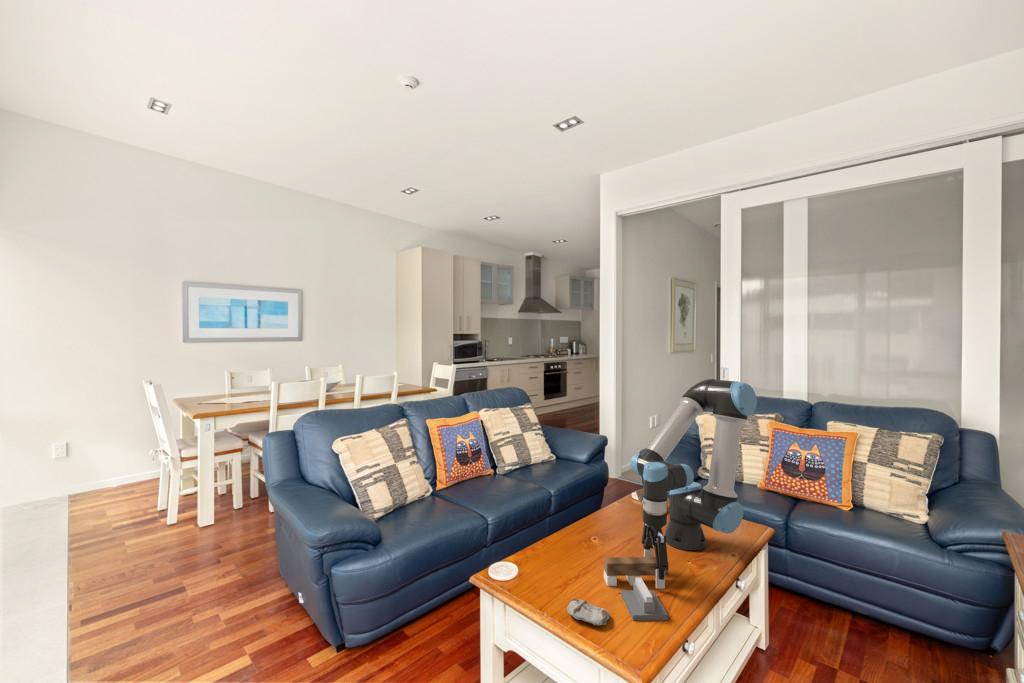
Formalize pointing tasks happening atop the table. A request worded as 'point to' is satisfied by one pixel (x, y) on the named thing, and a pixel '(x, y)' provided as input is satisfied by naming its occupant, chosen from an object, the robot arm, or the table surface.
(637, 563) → the bar
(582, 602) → the stone
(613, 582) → the blocks
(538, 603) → the table surface
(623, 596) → the fulcrum
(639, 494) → the rock
